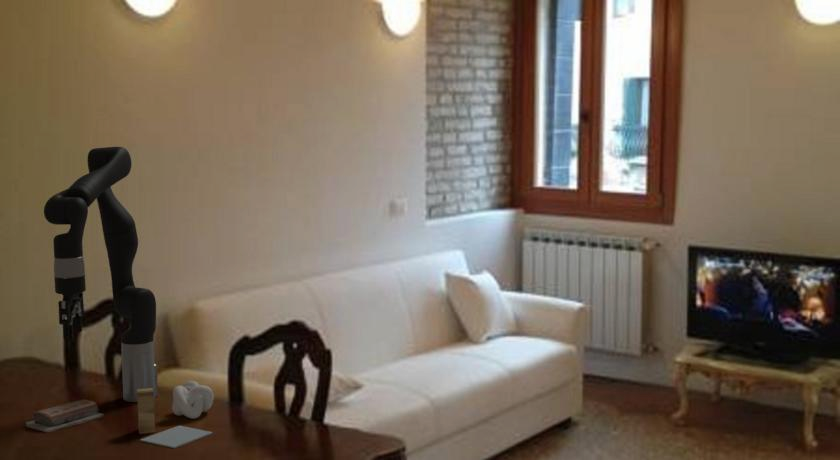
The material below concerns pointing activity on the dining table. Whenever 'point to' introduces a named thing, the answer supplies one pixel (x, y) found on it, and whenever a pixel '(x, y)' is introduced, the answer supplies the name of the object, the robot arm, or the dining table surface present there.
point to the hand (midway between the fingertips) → (73, 335)
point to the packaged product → (64, 415)
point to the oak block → (146, 410)
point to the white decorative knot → (191, 399)
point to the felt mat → (176, 436)
